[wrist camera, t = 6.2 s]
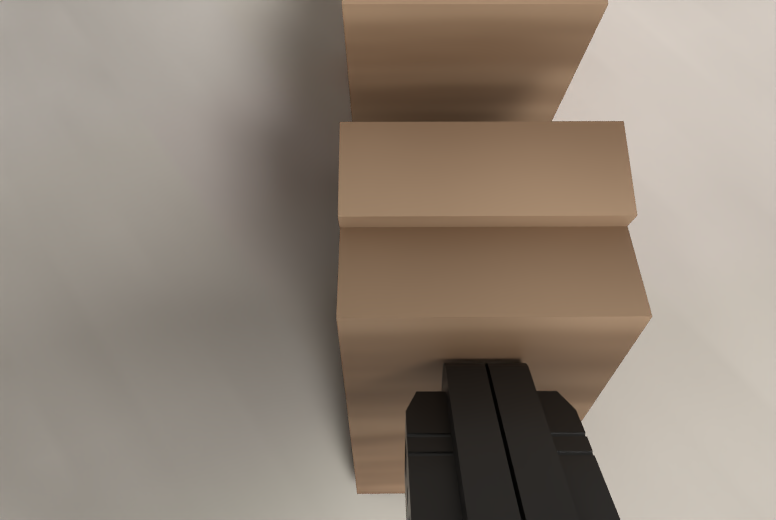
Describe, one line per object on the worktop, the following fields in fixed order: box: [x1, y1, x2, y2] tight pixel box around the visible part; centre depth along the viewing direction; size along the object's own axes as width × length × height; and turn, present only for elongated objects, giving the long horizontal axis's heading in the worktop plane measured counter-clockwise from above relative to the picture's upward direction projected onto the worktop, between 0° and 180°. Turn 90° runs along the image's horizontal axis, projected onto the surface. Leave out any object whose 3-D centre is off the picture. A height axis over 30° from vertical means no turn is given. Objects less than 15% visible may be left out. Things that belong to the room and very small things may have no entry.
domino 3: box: [336, 226, 652, 494], centre depth 15 cm, size 2×5×10 cm, turn 90°
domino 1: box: [342, 0, 608, 122], centre depth 17 cm, size 2×5×10 cm, turn 91°
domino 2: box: [338, 121, 637, 227], centre depth 16 cm, size 2×5×10 cm, turn 91°
